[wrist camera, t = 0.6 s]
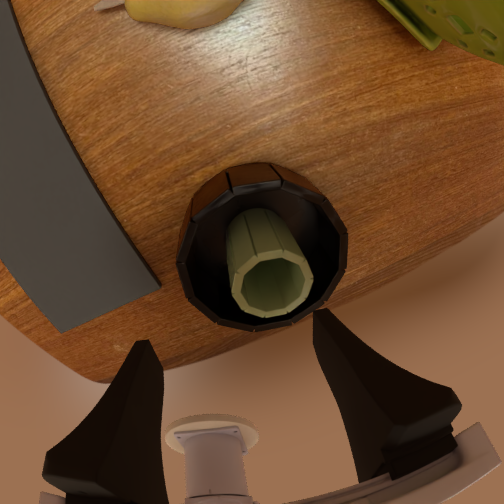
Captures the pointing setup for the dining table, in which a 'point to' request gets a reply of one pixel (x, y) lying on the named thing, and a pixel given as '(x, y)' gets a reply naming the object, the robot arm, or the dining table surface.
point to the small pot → (265, 264)
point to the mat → (55, 205)
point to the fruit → (175, 11)
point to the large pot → (213, 240)
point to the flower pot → (454, 24)
